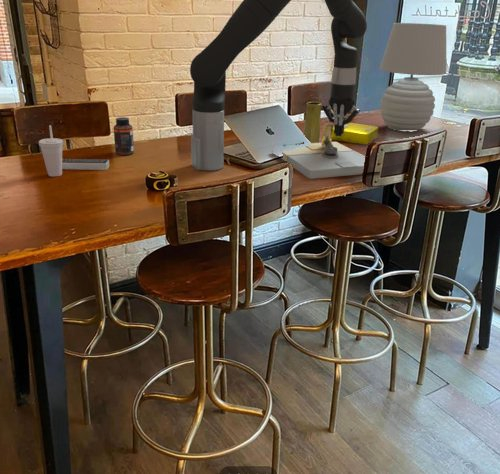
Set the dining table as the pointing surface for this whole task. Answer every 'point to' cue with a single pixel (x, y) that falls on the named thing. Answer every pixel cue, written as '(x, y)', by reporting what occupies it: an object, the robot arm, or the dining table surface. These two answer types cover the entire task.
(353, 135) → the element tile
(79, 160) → the multiport hub
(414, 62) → the table lamp
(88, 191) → the dining table surface
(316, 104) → the vase
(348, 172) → the grey flat slab
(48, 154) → the smoothie
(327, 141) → the latch arm
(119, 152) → the supplement bottle
